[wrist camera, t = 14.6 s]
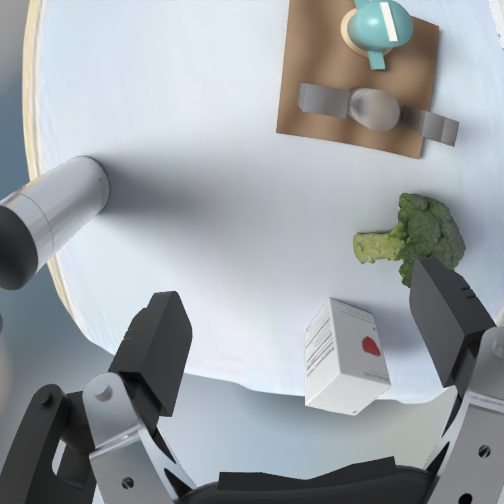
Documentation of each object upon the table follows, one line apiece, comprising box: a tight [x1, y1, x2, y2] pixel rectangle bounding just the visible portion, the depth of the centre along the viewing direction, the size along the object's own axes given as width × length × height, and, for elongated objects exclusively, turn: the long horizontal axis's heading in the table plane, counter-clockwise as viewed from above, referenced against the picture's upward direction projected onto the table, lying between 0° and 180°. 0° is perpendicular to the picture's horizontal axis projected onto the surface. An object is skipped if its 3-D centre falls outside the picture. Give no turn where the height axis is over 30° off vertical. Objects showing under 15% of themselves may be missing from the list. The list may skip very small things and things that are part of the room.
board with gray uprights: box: [276, 0, 459, 159], centre depth 25 cm, size 18×18×12 cm
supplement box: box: [304, 298, 391, 415], centre depth 43 cm, size 9×9×15 cm
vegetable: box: [353, 193, 465, 288], centre depth 36 cm, size 12×13×15 cm
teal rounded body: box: [347, 0, 413, 70], centre depth 23 cm, size 9×5×7 cm, turn 13°
